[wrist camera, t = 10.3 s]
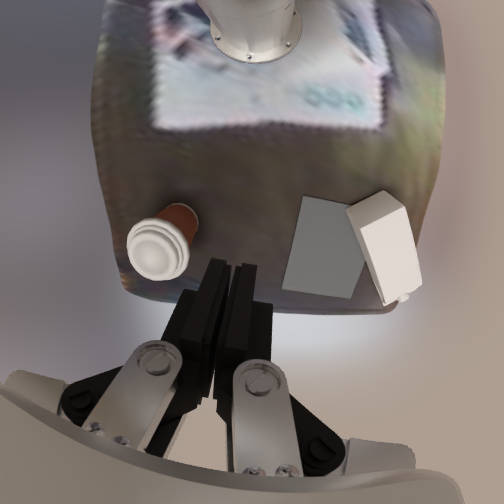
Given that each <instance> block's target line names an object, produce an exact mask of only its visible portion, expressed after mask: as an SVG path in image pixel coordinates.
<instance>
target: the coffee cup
mask: <svg viewBox="0 0 504 504" xmlns="http://www.w3.org/2000/svg"><path fill="white" fill-rule="evenodd" d="M198 225H199V223H198V217H197V215H196V213H195V212H194V210H193V209H192V208H190V207H189V206H188V205H185V204H182V203H173V204H171V205H169V206H168V207H166V208H165V209H164V210H162V211H161V212H159V213H158V214H157V215H155V216H154V217H152V218H146V219H144V220H142V221H140V222H138V223H137V224H135V225H134V226H133V228H132V229H131V231H130V233H129V234H128V239H127V250H128V256H129V259H130V262H131V264H132V265H133V267H134V268H135V270H136V271H137V272H139V273H140V274H141V275H143V276H144V277H146V278H149V279H151V280H170V279H172V278H175V277H177V276H179V275H180V274H181V273H182V272H183V271H184V270H185V269H186V267H187V265H188V261H189V257H190V251H189V248H190V246H191V243H192V241H193V238H194V236H195V233H196V232H197V229H198Z"/></svg>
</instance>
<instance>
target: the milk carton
mask: <svg viewBox="0 0 504 504" xmlns="http://www.w3.org/2000/svg"><path fill="white" fill-rule="evenodd" d="M346 213H347V215H348V217H349V220H350V222H351V225H352V227H353V229H354V232H355V234H356V237H357V239H358V242H359V244H360V247H361V249H362V252H363V255H364V257H365V260H366V263H367V265H368V268H369V271H370V274H371V276H372V279H373V282H374V284H375V286H376V288H377V291H378V293H379V295H380V297H381V300H382V302H383V305H384V306H385V305H387V304H389V303H391V302H393V301H395V300H397V299H398V301H399V302H400V303H401V302H403V301H406V300H407V299H409V298H410V296H409V293H410V292H412V291H414V290H416V289H417V287H419V286H420V285H422V278H421V272H420V267H419V262H418V257H417V252H416V248H415V243H414V239H413V235H412V231H411V227H410V223H409V219H408V216H407V212H406V209H405V206H404V205H403V204H401V203H400V202H399V201H398V200H396V199H395V198H394V197H392V196H391V195H390V194H388V193H387V192H386V191H384V190H383V191H381V192H379V193H377V194H375V195H373V196H371V197H369V198H367V199H365V200H363V201H361V202H359V203H357V204H355V205H353V206H351V207H349V208H347V209H346Z"/></svg>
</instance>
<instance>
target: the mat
mask: <svg viewBox="0 0 504 504" xmlns="http://www.w3.org/2000/svg"><path fill="white" fill-rule="evenodd" d="M351 206H353V205H349V204H345V203H340V202H335V201H331V200H326V199H321V198H316V197H311V196H306V195H303V197H302V202H301V206H300V211H299V215H298V220H297V224H296V229H295V233H294V238H293V242H292V246H291V250H290V255H289V259H288V263H287V267H286V271H285V275H284V280H283V284H282V289H286V290H292V291H299V292H306V293H313V294H320V295H328V296H335V297H343V298H351V295H352V293H353V290H354V288H355V286H356V283H357V281H358V278H359V276H360V273H361V270H362V268H363V265H364V263H365V257H364V255H363V252H362V249H361V247H360V244H359V242H358V239H357V237H356V234H355V232H354V229H353V227H352V225H351V222H350V220H349V217H348V215H347V213H346V209H347V208H349V207H351Z"/></svg>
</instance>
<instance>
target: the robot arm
mask: <svg viewBox="0 0 504 504" xmlns="http://www.w3.org/2000/svg"><path fill="white" fill-rule="evenodd" d="M195 1H196V2H197V3H198V5H199V6H200V7H201V8H202V10H203V11H204V12H205V13H206V15H207V16H208V17H209V19H210V20H211V22H210V33H211V37H212V39H213V42H214V43H215V45H216V46H217V47H218V49H219V50H220V51H221V52H223V53H224V54H225V55H227V56H228V57H230V58H232V59H234V60H237V61H240V62H243V63H250V64H261V63H267V62H271V61H274V60H277V59H279V58H281V57H283V56H285V55H286V54H288V53H289V52H290V51H291V50H292V49H293V48H294V47H295V46H296V44H297V42H298V41H299V39H300V36H301V32H302V20H301V17H300V14H299V13H298V11H297V9H296V8H295V7H294V6H295V0H195ZM293 14H294V16H293ZM218 38H221V40H219V41H218ZM286 45H289V46H290V47H286ZM249 57H252V59H251V60H249V59H248V58H249ZM256 271H257V265H252V264H246V263H242V267H240V266H236V268H235V272H234V276H233V280H232V284H231V288H230V292H229V284H230V275H231V265H227V264H226V260H221V259H215V258H211V260H210V262H209V265H208V267H207V270H206V272H205V275H204V277H203V279H202V282H201V284H200V287H199V289H198V291H194V290H189V289H184V290H183V292H182V294H181V296H180V298H179V300H178V302H177V305H176V307H175V309H174V311H173V314H172V315H171V318H170V320H169V322H168V325H167V327H166V329H165V331H164V333H163V336H162V338H161V340H153V341H148V342H145V343H143V344H141V345H139V346H138V347H137V348H136V349H135V350H134V352H133V353H132V355H131V356H130V357H129V359H128V360H127V361H126V363H125V364H124V365H123V366H120V367H117V368H115V369H112V370H109V371H106V372H104V373H101V374H98V375H95V376H92V377H89V378H86V379H83V380H80V381H77V382H74V383H73V384H66V382H65V381H63V380H59V379H54V378H50V377H46V376H42V375H38V374H35V373H31V372H27V371H24V370H17V371H14V372H12V373H11V374H10V375H9V376H8V378H7V380H6V382H5V384H3V383H1V382H0V504H465V503H464V499H463V496H462V493H461V490H460V488H459V486H458V484H457V483H456V481H455V480H454V479H453V478H451V477H450V476H448V475H446V474H443V473H441V472H437V471H432V470H425V469H415V464H416V460H415V454H414V453H413V451H412V449H410V448H409V447H408V446H406V445H403V444H394V443H385V442H375V441H368V440H361V439H355V438H350V439H349V440H346V439H341V438H340V437H339V436H338V435H337V434H336V433H335V432H334V431H332V430H331V429H330V428H329V427H327V426H326V425H325V424H324V423H322V421H320V420H319V419H318V418H317V417H316V416H314V415H313V414H312V413H311V412H310V411H309V410H308V409H306V408H305V407H304V406H303V405H302V404H301V403H300V402H298V401H297V400H296V399H295V398H294V397H293V396H292V395H291V394H290V393H289V390H288V385H287V379H286V377H285V374H284V372H283V371H282V370H281V369H280V368H279V367H278V366H277V365H275V364H274V363H272V362H271V343H272V316H273V304H271V303H264V302H258V301H253V295H254V287H255V279H256ZM228 293H229V296H228ZM214 370H215V373H214ZM213 374H214V389H213V399H217V410H216V412H217V413H218V415H219V416H220V417H221V418H222V419H223V420H224V421H225V423H226V424H225V433H226V434H225V436H226V468H227V469H226V472H225V471H219V470H213V469H207V468H202V467H197V466H192V465H188V464H183V463H179V462H175V461H171V460H167V457H168V455H169V453H170V451H171V449H172V446H173V445H174V442H175V440H176V438H177V436H178V434H179V432H180V429H181V427H182V425H183V423H184V421H185V418H186V416H187V413H188V412H190V411H192V410H194V409H196V408H197V405H198V404H199V405H201V401H202V397H206V398H208V396H209V392H210V388H211V383H212V378H213Z"/></svg>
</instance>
